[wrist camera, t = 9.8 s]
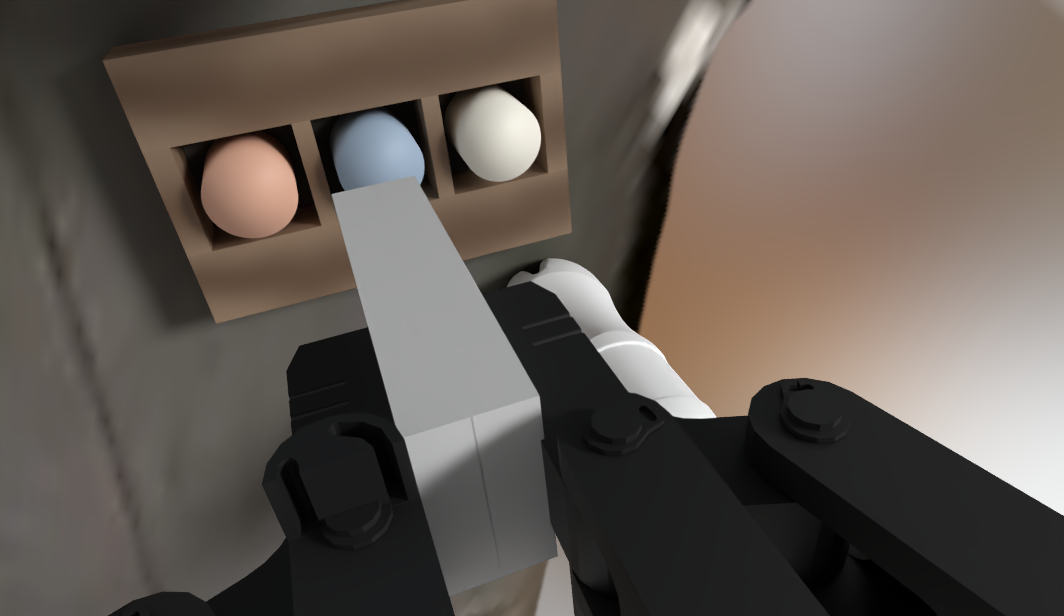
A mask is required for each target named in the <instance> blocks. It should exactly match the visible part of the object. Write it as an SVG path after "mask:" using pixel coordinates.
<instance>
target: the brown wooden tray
mask: <svg viewBox="0 0 1064 616" xmlns="http://www.w3.org/2000/svg"><path fill="white" fill-rule="evenodd" d="M102 61H103V63H104V66H105V68H106V70H107V73H108V75H109V77H110V79H111V82H112V84H113V86H114V89H115V91H116V93H117V96H118V98H119V100H120V103H121V105H122V107H123V109H124V112H125V114H126V116H127V119H128V121H129V123H130V126H131V128H132V130H133V132H134V135H135V137H136V139H137V142H138V144H139V146H140V149H141V151H142V153H143V156H144V158H145V160H146V162H147V165H148V167H149V169H150V172H151V174H152V176H153V179H154V181H155V183H156V186H157V188H158V190H159V192H160V195H161V197H162V199H163V202H164V204H165V206H166V209H167V211H168V213H169V216H170V218H171V220H172V222H173V225H174V227H175V229H176V232H177V234H178V236H179V239H180V241H181V243H182V245H183V248H184V250H185V252H186V255H187V257H188V259H189V262H190V264H191V266H192V269H193V271H194V273H195V275H196V278H197V280H198V282H199V285H200V287H201V289H202V292H203V294H204V296H205V299H206V301H207V303H208V305H209V308H210V310H211V312H212V315H213V317H214V319H215V322H216V324H217V323H221V322H225V321H229V320H232V319H236V318H240V317H244V316H248V315H252V314H256V313H260V312H264V311H268V310H271V309H275V308H279V307H283V306H287V305H291V304H295V303H299V302H303V301H307V300H311V299H314V298H318V297H322V296H326V295H330V294H334V293H338V292H342V291H346V290H350V289H353V288H357V285H356V281H355V277H354V274H353V270H352V267H351V263H350V259H349V256H348V252H347V249H346V245H345V241H344V238H343V234H342V231H341V227H340V223H339V220H338V216H337V213H336V209H335V205H334V202H333V200H332V197H331V193H330V190H329V186H328V183H327V179H326V175H325V172H324V168H323V165H322V161H321V158H320V154H319V151H318V147H317V143H316V140H315V136H314V133H313V129H312V126H311V122H310V120H314V119H319V118H324V117H329V116H334V115H339V114H344V113H350V112H355V111H360V110H365V109H370V108H375V107H380V106H385V105H390V104H395V103H400V102H405V101H411V100H413V105H414V110H415V115H416V120H417V126H418V131H419V136H420V141H421V147H422V152H423V157H424V162H425V167H426V173H427V178H428V179H427V180H423V181H422V182H421V184H420V186H421V188H422V190H423V192H424V193H425V195H426V197H427V199H428V200H429V202H430V204H431V206H432V207H433V209H434V211H435V213H436V215H437V216H438V218H439V220H440V222H441V223H442V225H443V227H444V229H445V230H446V232H447V234H448V236H449V237H450V239H451V241H452V243H453V244H454V246H455V248H456V250H457V251H458V253H459V255H460V257H461V258H462V260H467V259H471V258H474V257H478V256H482V255H486V254H490V253H494V252H498V251H502V250H506V249H510V248H514V247H517V246H521V245H525V244H529V243H533V242H537V241H541V240H545V239H549V238H553V237H556V236H560V235H564V234H568V233H572V228H571V214H570V199H569V184H568V169H567V154H566V139H565V124H564V109H563V94H562V79H561V64H560V50H559V35H558V20H557V5H556V0H399V1H392V2H386V3H380V4H374V5H368V6H361V7H355V8H349V9H343V10H337V11H330V12H324V13H318V14H312V15H306V16H299V17H293V18H287V19H281V20H275V21H269V22H262V23H256V24H250V25H244V26H238V27H231V28H225V29H219V30H213V31H207V32H200V33H194V34H188V35H182V36H176V37H169V38H163V39H157V40H151V41H145V42H138V43H132V44H126V45H120V46H114V47H112V48H111V50H110V51H109V52H108V54H107V55H106V56H105V58H104V59H103V60H102ZM517 79H523V81H524V91H525V101H526V108H527V109H528V110H530V111H531V112H532V114H533V115H534V116H535V118H536V119H537V122H538V124H539V127H540V132H541V144H540V148H539V152H538V155H537V157H536V159H535V160H534V162H533V163H532V165H531V166H530V167H529V168H528V169H527V170H526V171H525V172H524V173H522V174H521V175H519V176H518V177H516V178H514V179H511V180H508V181H502V182H494V181H489V180H485V179H483V178H481V177H479V176H478V175H476V174H475V173H474V172H473V171H472V170H467V171H463V172H458V173H454V174H451V169H450V163H449V157H448V151H447V145H446V139H445V133H444V127H443V121H442V115H441V110H440V104H439V98H438V95H441V94H446V93H451V92H456V91H461V90H467V89H472V88H477V87H482V86H487V85H492V84H497V83H502V82H507V81H512V80H517ZM288 124H291V125H292V128H293V132H294V135H295V138H296V142H297V145H298V148H299V152H300V155H301V158H302V162H303V165H304V169H305V172H306V175H307V179H308V182H309V185H310V189H311V192H312V195H313V199H314V202H315V205H312V206H307V207H303V208H298V209H296V212H295V214H294V216H293V218H292V219H291V221H290V222H289V223H288V224H287V225H286V226H285V227H284V228H283V229H281V230H280V231H278V232H277V233H275V234H272V235H270V236H266V237H261V238H244V237H239V236H235V235H232V234H230V233H228V232H226V231H224V230H222V229H221V228H220V227H214V226H213V224H212V221H211V219H210V218H209V216H208V215H207V213H206V211H205V209H204V207H203V204H202V199H201V194H200V191H199V188H198V186H197V183H196V181H195V178H194V176H193V173H192V171H191V168H190V166H189V163H188V161H187V158H186V156H185V153H184V151H183V148H182V145H187V144H192V143H197V142H202V141H207V140H212V139H217V138H222V137H227V136H233V135H238V134H243V133H248V132H253V131H258V130H263V129H268V128H273V127H278V126H283V125H288Z"/></svg>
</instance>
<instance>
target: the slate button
mask: <svg viewBox="0 0 1064 616" xmlns="http://www.w3.org/2000/svg"><path fill="white" fill-rule="evenodd" d="M329 145H330V152H331V155H332V158H333V161H334V165H335V168H336V171H337V174H338V177H339V180H340V183H341V185H342V187H343V189H344V190H345V191H348V190H352V189H357V188H361V187H366V186H370V185H375V184H379V183H384V182H388V181H393V180H397V179H402V178H406V177H411V176H415V178H416V179H417V181H418V183H419V185H420V184H421V182H422V179H423V176H424V159H423V155H422V152H421V150H420V148H419V146H418V145H417V143H416V142H415V140H414V138H413V137H412V135H411V134H410V132H409V131H408V129H407V128H406V126H405V124H404V123H403V121H402V120H401V119H400V118H399V117H398V116H397V115H396V114H395V113H394V112H392V111H391V110H389V109H387V108H385V107H382V106H380V107H375V108H370V109H365V110H360V111H355V112H350V113H344V114H342V115H341V116H340V117H339V118H338V119H337V121H336V122H335V124H334V126H333V128H332V130H331V134H330V140H329Z"/></svg>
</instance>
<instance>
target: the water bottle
mask: <svg viewBox="0 0 1064 616" xmlns="http://www.w3.org/2000/svg"><path fill="white" fill-rule="evenodd" d="M529 281H532V282H534V283H536V284H537V285H539V286H541V287H543V288H545V289H547V290H549V291H551V292H553V293H555V294H556V295H557V297H558V298H559V299H560V301H561V302H562V303H563V305H564V306H565V307H566V309H567V310H568V312H569V313H570V317H573V318H574V320H575V321H576V322H577V324H578V325H579V326H580V328H581V330H582V333H585V334H586V336H587V337H588V338H589V340H590V341H591V342H592V344H593V345H594V346H595V348H596V349H597V351H598V352H599V353H600V355H601V356H602V357H603V359H604V360H605V361H606V363H607V364H608V365H609V367H610V368H611V369H612V371H613V372H614V373H615V375H616V376H617V377H618V379H619V380H620V381H621V383H622V384H623V385H624V387H625V388H626V389H627V391H628V392H629V393H637V394H639V395H642V396H644V397H647V398H650V399H652V400H655V401H656V402H658V403H659V404H660V405H661V406H662V407H664V408H665V409H666V410H667V411H668V412H669V413H671V415H672V416H675V417H680V418H699V419H703V418H717V417H716V416H715V415H714V414H713V412H712V410H711V409H710V408H709V407H708V406H707V405H706V404H704V403H703V402H701V401H700V400H699V399H698V398H697V397H696V395H695V394H694V393H693V392H692V391H691V390H690V389H689V387H688V386H687V385H686V384H685V383H684V382H683V380H682V379H681V378H680V377H679V376H678V375H677V374H676V372H674V370H673V369H672V368H671V367H670V366H669V364H668V363H667V361H666V359H665V357H664V355H663V354H662V353H661V352H660V350H659V349H658V348H657V347H656V346H655V345H654V344H652V343H651V342H650V341H648V340H646V339H645V338H643V337H642V336H640V335H638V334H637V333H636V332H634V331H633V330H631V329H630V328H629V327H628V326H627V325H626V324H625V323H624V322H623V320H622V319H621V317H620V316H619V314H618V312H617V311H616V309H615V307H614V305H613V303H612V300H611V298H610V295H609V293H608V291H607V290H606V289H605V287H604V286H603V285H602V284H601V283H600V282H599V281H598V279H597V278H596V277H595V276H594V275H592V274H591V273H590V272H589V271H588V270H586V269H585V268H583V267H582V266H580V265H578V264H576V263H573V262H570V261H567V260H563V259H550V258H548V259H545V260H543V261H542V262H541V264H540V269H539V273H537V274H530V273H528V272H525V271H520V272H519V273H518V274H516V275H515V276H513V277H512V279H511V280H510V281H509V283H508V285H507V287H510V286H514V285H517V284H521V283H525V282H529Z"/></svg>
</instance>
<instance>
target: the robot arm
mask: <svg viewBox="0 0 1064 616" xmlns="http://www.w3.org/2000/svg"><path fill="white" fill-rule="evenodd" d="M332 198H333V202H334V205H335V209H336V213H337V216H338V220H339V223H340V227H341V231H342V234H343V238H344V241H345V245H346V249H347V252H348V256H349V259H350V263H351V267H352V270H353V274H354V277H355V281H356V285H357V288H358V292H359V295H360V299H361V303H362V306H363V310H364V313H365V317H366V321H367V324H368V327H367V328H363V329H360V330H356V331H352V332H349V333H345V334H341V335H338V336H334V337H330V338H327V339H323V340H319V341H315V342H312V343H308V344H304V345H301V346H299V348H298V350H297V351H296V353H295V355H294V357H293V359H292V361H291V363H290V365H289V367H288V369H287V371H286V372H287V383H288V394H289V399H290V400H289V406H290V416H291V420H292V421H291V428H292V436H291V437H290V438H288V439H287V440H286V441H284V442H283V443H282V444H281V445H280V446H279V448H278V449H277V450H276V452H275V453H274V454H273V456H272V457H271V459H270V460H269V461H268V463H267V465H266V469H265V473H264V478H263V482H262V486H263V488H264V490H265V492H266V494H267V497H268V499H269V501H270V503H271V505H272V507H273V510H274V512H275V514H276V516H277V518H278V520H279V523H280V525H281V527H282V529H283V531H284V533H285V536H286V538H285V540H284V541H283V543H282V544H281V546H280V547H279V548H278V549H277V550H276V551H275V553H274V554H273V555H272V556H271V557H270V558H269V559H268V560H267V561H266V562H265V563H264V564H262V565H261V566H260V567H258V568H257V569H256V570H254V571H253V572H252V573H250V574H249V575H248V576H246V577H245V578H243V579H241V580H240V581H238V582H237V583H235V584H234V585H232V586H230V587H229V588H227V589H226V590H224V591H222V592H221V593H219V594H218V595H216V596H214V597H213V598H211V599H210V600H208V601H207V602H205V601H203V600H201V599H199V598H198V597H196V596H194V595H192V594H190V593H189V592H160V593H157V594H153V595H150V596H147V597H143V598H140V599H137V600H134V601H132V602H130V603H128V604H127V605H125V606H123V607H122V608H120V609H118V610H117V611H115V612H113V613H112V614H110V615H108V616H455V615H454V611H453V608H452V604H451V601H450V596H452V595H455V594H458V593H460V592H463V591H466V590H468V589H471V588H474V587H476V586H479V585H482V584H484V583H487V582H490V581H492V580H495V579H498V578H501V577H503V576H506V575H509V574H511V573H514V572H517V571H519V570H522V569H525V568H527V567H530V566H533V565H535V564H538V563H541V562H544V561H546V560H549V559H551V558H554V557H557V556H558V554H557V545H556V536H557V538H558V540H559V542H560V544H561V546H562V548H563V550H564V552H565V555H566V557H567V558H568V561H569V565H570V575H571V585H572V595H573V605H574V614H575V616H1064V516H1063V515H1061V514H1059V513H1058V512H1056V511H1054V510H1053V509H1051V508H1049V507H1048V506H1046V505H1044V504H1042V503H1041V502H1039V501H1037V500H1036V499H1034V498H1032V497H1030V496H1029V495H1027V494H1025V493H1024V492H1022V491H1020V490H1019V489H1017V488H1015V487H1013V486H1012V485H1010V484H1008V483H1006V482H1005V481H1003V480H1001V479H1000V478H998V477H996V476H995V475H993V474H991V473H989V472H988V471H986V470H984V469H983V468H981V467H979V466H978V465H976V464H974V463H972V462H971V461H969V460H967V459H966V458H964V457H962V456H960V455H959V454H957V453H955V452H954V451H952V450H950V449H948V448H947V447H945V446H943V445H942V444H940V443H938V442H937V441H935V440H933V439H932V438H930V437H928V436H926V435H925V434H923V433H921V432H920V431H918V430H916V429H914V428H913V427H911V426H909V425H908V424H906V423H904V422H902V421H901V420H899V419H897V418H895V417H894V416H892V415H890V414H889V413H887V412H885V411H884V410H882V409H880V408H879V407H877V406H875V405H873V404H872V403H870V402H868V401H867V400H865V399H863V398H862V397H860V396H858V395H856V394H855V393H853V392H851V391H849V390H846V389H844V388H842V387H839V386H837V385H835V384H832V383H830V382H826V381H820V380H814V379H808V378H797V379H782V380H780V381H777V382H774V383H772V384H769V385H766V386H764V387H763V388H762V389H761V390H760V391H759V392H758V393H757V394H756V395H755V396H753V398H752V400H751V404H750V408H749V412H748V416H736V417H735V416H734V417H719V418H703V419H699V418H680V417H675V416H672V415H671V413H669V412H668V411H667V410H666V409H665V408H664V407H662V406H661V405H660V404H659V403H658V402H656V401H655V400H652V399H650V398H647V397H644V396H642V395H639V394H637V393H629V392H628V391H627V389H626V388H625V387H624V385H623V384H622V383H621V381H620V380H619V379H618V377H617V376H616V375H615V373H614V372H613V371H612V369H611V368H610V367H609V365H608V364H607V363H606V361H605V360H604V359H603V357H602V356H601V355H600V353H599V352H598V351H597V349H596V348H595V346H594V345H593V344H592V342H591V341H590V340H589V338H588V337H587V336H586V334H585V333H582V330H581V328H580V326H579V325H578V324H577V322H576V321H575V320H574V318H573V317H570V313H569V312H568V310H567V309H566V307H565V306H564V305H563V303H562V302H561V301H560V299H559V298H558V297H557V295H556V294H555V293H553V292H551V291H549V290H547V289H545V288H543V287H541V286H539V285H537V284H536V283H534V282H532V281H529V282H525V283H521V284H517V285H514V286H510V287H506V288H503V289H499V290H495V291H491V292H488V293H484V294H481V292H480V290H479V288H478V287H477V285H476V283H475V281H474V280H473V278H472V276H471V274H470V273H469V271H468V269H467V267H466V266H465V264H464V262H463V260H462V258H461V257H460V255H459V253H458V251H457V250H456V248H455V246H454V244H453V243H452V241H451V239H450V237H449V236H448V234H447V232H446V230H445V229H444V227H443V225H442V223H441V222H440V220H439V218H438V216H437V215H436V213H435V211H434V209H433V207H432V206H431V204H430V202H429V200H428V199H427V197H426V195H425V193H424V192H423V190H422V188H421V186H420V185H419V183H418V181H417V179H416V178H415V176H411V177H406V178H402V179H397V180H393V181H388V182H384V183H379V184H375V185H370V186H366V187H361V188H357V189H352V190H348V191H343V192H339V193H334V194H332ZM555 533H556V536H555Z"/></svg>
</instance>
